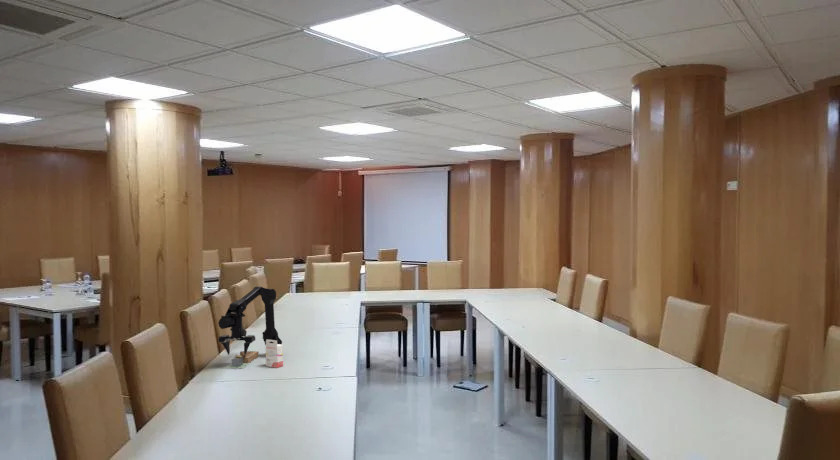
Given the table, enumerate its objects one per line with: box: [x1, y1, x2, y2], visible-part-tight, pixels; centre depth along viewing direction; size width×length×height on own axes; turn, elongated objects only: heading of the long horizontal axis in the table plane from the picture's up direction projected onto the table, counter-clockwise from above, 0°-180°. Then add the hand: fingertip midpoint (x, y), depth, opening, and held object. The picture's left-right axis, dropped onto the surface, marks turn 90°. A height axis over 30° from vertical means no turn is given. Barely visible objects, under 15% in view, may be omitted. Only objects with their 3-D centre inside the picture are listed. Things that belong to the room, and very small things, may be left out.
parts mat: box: [225, 363, 250, 370], centre depth 310 cm, size 9×9×1 cm
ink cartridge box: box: [265, 339, 284, 369], centre depth 310 cm, size 9×5×15 cm, turn 62°
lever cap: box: [231, 354, 243, 367], centre depth 310 cm, size 4×6×5 cm, turn 175°
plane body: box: [239, 350, 260, 364], centre depth 324 cm, size 7×16×6 cm, turn 175°
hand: (237, 354), depth 310 cm, fingers open, 9 cm apart
